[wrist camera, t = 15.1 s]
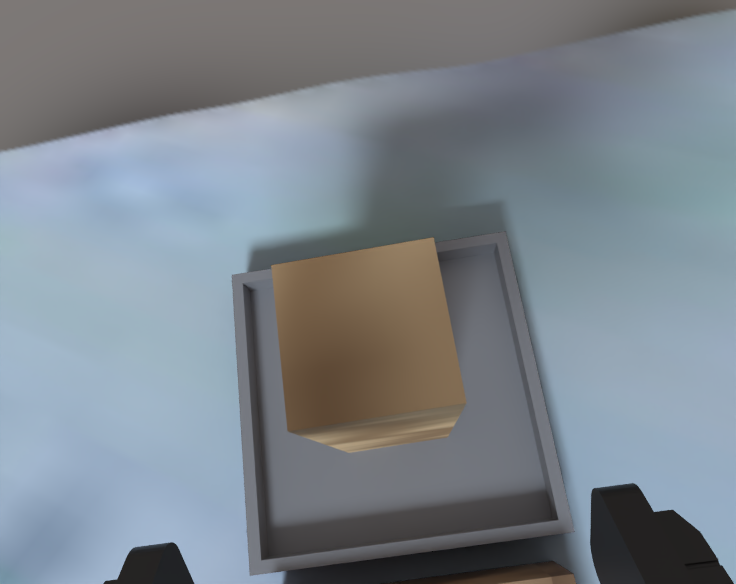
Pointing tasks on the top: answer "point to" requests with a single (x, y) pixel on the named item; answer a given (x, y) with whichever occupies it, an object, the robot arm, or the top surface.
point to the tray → (407, 461)
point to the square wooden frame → (504, 576)
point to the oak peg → (367, 347)
